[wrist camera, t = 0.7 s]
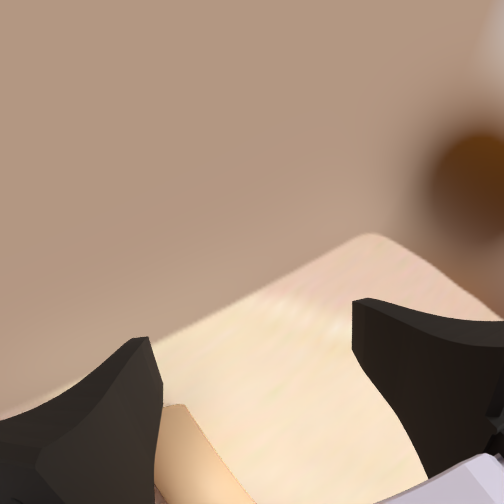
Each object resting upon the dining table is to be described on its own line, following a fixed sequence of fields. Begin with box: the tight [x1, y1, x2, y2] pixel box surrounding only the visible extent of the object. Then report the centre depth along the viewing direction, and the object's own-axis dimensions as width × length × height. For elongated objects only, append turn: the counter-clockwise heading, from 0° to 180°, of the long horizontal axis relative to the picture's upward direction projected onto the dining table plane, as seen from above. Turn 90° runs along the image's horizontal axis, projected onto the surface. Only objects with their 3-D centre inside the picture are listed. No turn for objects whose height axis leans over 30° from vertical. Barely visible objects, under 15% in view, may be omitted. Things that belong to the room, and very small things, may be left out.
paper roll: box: [154, 404, 256, 504], centre depth 17 cm, size 13×5×5 cm, turn 35°
